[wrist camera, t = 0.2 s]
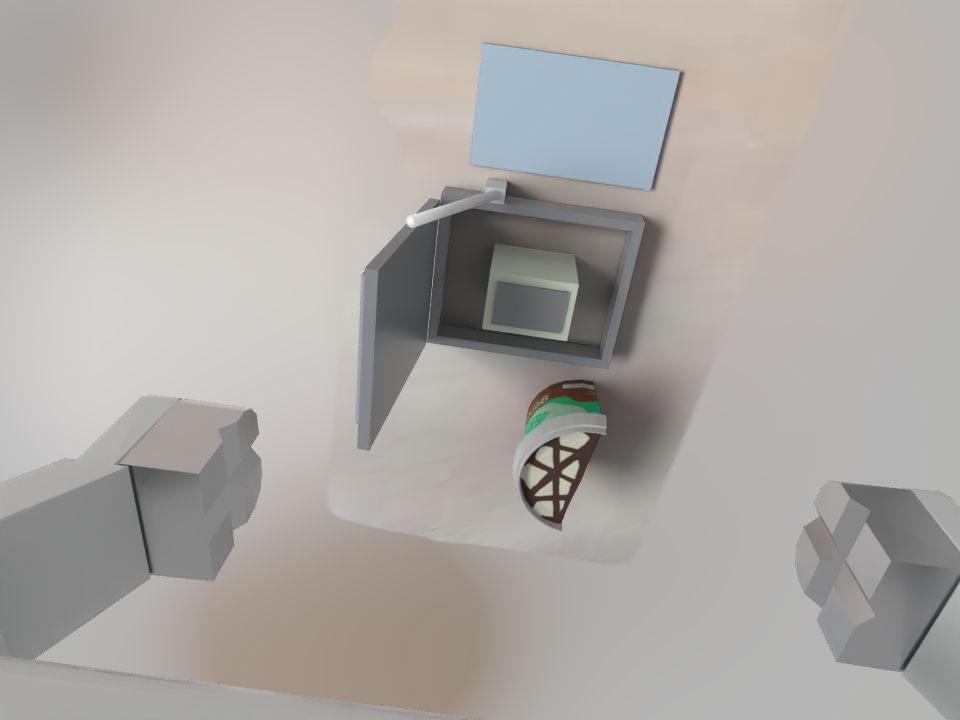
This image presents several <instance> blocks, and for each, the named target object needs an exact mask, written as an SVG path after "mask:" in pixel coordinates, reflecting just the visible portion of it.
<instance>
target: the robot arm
mask: <svg viewBox="0 0 960 720" xmlns="http://www.w3.org/2000/svg"><path fill="white" fill-rule="evenodd" d="M258 435H259V431H258V423H257V415H256V413H255V412H254V411H253V410H252V409H250V408H244V407H237V406H231V405H224V404H217V403H210V402H202V401H195V400H189V399H181V398H175V397H166V396H158V395H147V396H142V397H141V398H140V399H139V400H138V401H137V402H135V403H134V404H133V405H132V406H131V407H130V408H129V409H128V410H127V411H126V412H125V413H124V414H123V415H122V416H121V417H120V418H119V419H118V420H117V421H116V422H115V423H114V424H113V425H112V426H111V427H110V428H109V429H108V430H107V431H106V432H105V433H103V434H102V435H101V436H100V437H99V439H97V440H96V441H95V442H94V443H93V444H92V445H91V446H90V447H89V448H88V449H87V450H86V451H85V452H84V453H83V454H82V455H81V456H80V457H79V458H78V459H77V460H75V459H66V458H65V459H62V460H59V461H57V462H54V463H51V464H49V465H46V466H43V467H41V468H38V469H36V470H33V471H30V472H28V473H25V474H22V475H20V476H17V477H15V478H12V479H9V480H7V481H4V482H1V483H0V720H481V719H474V718H467V717H460V716H452V715H444V714H436V713H429V712H422V711H414V710H407V709H398V708H391V707H384V706H377V705H369V704H362V703H354V702H347V701H346V702H345V701H339V700H331V699H323V698H316V697H308V696H301V695H293V694H286V693H279V692H271V691H264V690H256V689H248V688H241V687H234V686H226V685H219V684H211V683H203V682H195V681H189V680H181V679H173V678H166V677H158V676H151V675H143V674H136V673H128V672H120V671H113V670H106V669H98V668H90V667H83V666H76V665H68V664H60V663H53V662H45V661H38V660H34V659H35V658H37V657H38V656H39V655H41V654H42V653H44V652H45V651H47V650H48V649H49V648H51V647H52V646H54V645H55V644H57V643H58V642H59V641H61V640H62V639H64V638H65V637H67V636H68V635H70V634H71V633H73V632H74V631H75V630H76V629H78V628H80V627H81V626H83V625H84V624H85V623H87V622H88V621H90V620H91V619H93V618H94V617H95V616H97V615H98V614H100V613H101V612H102V611H104V610H105V609H107V608H108V607H110V606H111V605H113V604H114V603H116V602H117V601H119V600H120V599H121V598H123V597H124V596H126V595H127V594H129V593H130V592H131V591H133V590H134V589H136V588H137V587H139V586H140V585H141V584H143V583H144V582H146V581H147V580H149V579H150V575H158V576H167V577H177V578H187V579H197V580H206V581H214V580H215V578H216V576H217V574H218V572H219V571H220V569H221V567H222V566H223V564H224V562H225V560H226V559H227V557H228V555H229V553H230V552H231V550H232V548H233V547H234V538H233V530H235V529H236V528H238V527H240V526H242V525H244V524H245V523H247V522H248V520H249V518H250V516H251V514H252V512H253V510H254V509H255V506H256V502H257V499H258V495H259V492H260V488H261V487H260V486H261V477H262V469H261V459H260V457H259V456H258V455H257V454H256V453H255V451H254V450H253V449H252V448H251V445H252V444H253V442H254V441H255V439H256V437H257V436H258ZM814 504H815V506H816V509H817V511H818V514H819V517H818V518H816V519H815V520H813V521H812V522H810V523H809V524H807V525H806V526H804V527H803V530H802V532H801V535H800V537H799V540H798V542H797V545H796V561H795V565H796V570H797V575H798V579H799V582H800V584H801V586H802V588H803V591H804V593H805V594H806V595H807V596H808V597H810V598H811V599H812V600H813V601H814V602H815V603H817V604H818V605H819V606H820V607H821V608H822V609H821V612H820V614H819V616H818V618H817V621H818V623H819V626H820V628H821V630H822V632H823V634H824V636H825V639H826V641H827V643H828V645H829V647H830V649H831V651H832V653H833V656H834V658H835V660H836V662H840V663H846V664H853V665H859V666H865V667H872V668H878V669H885V670H891V671H897V672H903V674H902V676H903V677H904V678H905V679H906V680H907V681H908V682H909V683H910V684H911V685H912V686H913V687H914V688H915V689H916V690H917V691H918V692H919V693H920V694H921V695H922V696H923V697H924V698H926V700H927V701H928V702H929V703H930V704H931V705H932V706H933V707H934V708H935V709H936V710H937V711H938V712H939V713H941V715H942V716H943V717H945V718H946V719H947V720H960V507H959V506H958V505H957V504H956V503H955V502H954V500H953V499H952V498H951V497H949V496H947V495H945V494H943V493H942V492H939V491H929V490H917V489H907V488H902V489H898V488H889V487H881V486H872V485H863V484H854V483H853V484H852V483H845V482H835V481H828V482H827V483H826V484H825V485H824V486H823V487H822V488H821V489H820V491H819V493H818V495H817V498H816V500H815V502H814Z"/></svg>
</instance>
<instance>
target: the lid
mask: <svg viewBox="0 0 960 720" xmlns="http://www.w3.org/2000/svg"><path fill="white" fill-rule="evenodd" d="M439 205H440V200H437V199H431V198H430V199H429V200H428V201H427V202H426V203H425V204H424V206H423V207H422V208H421V209H420V210H419V211H418V212H417V213H420V212H424V211H427V210H430V209H433V208H437V207H439ZM417 213H416V214H417ZM437 226H438V220H435V221H432V222H429V223H426V224H423V225H420V226H417V227H414V228H410V227H409V226H408V225H407V224H406V225H405V226H404V227H403V228H402V229H401V230H400V231H399V232H398V233H397V234H396V235H395V237H394V238H393V239H392V240H391V241H390V242H389V243H388V244H387V245H386V246H385V247H384V248H383V249H382V250H381V252H380V253H379V254H378V255H377V256H376V257H375V258H374V259H373V260H372V261H371V262H370V263H369V264H368V265H367V266H366V268H365V271H364V273H363V274H362V275H361V300H360V326H359V351H358V377H357V403H356V424H358V447H357V448H358V449H363V450H368V451H369V450H370V448H371V446H372V444H373V442H374V440H375V438H376V436H377V435H378V433H379V431H380V429H381V427H382V425H383V423H384V421H385V420H386V418H387V416H388V414H389V412H390V410H391V408H392V406H393V405H394V403H395V401H396V399H397V397H398V395H399V393H400V391H401V390H402V388H403V386H404V384H405V382H406V380H407V378H408V376H409V375H410V373H411V371H412V369H413V367H414V365H415V363H416V361H417V360H418V358H419V356H420V354H421V352H422V350H423V348H424V347H425V345H426V341H427V331H428V320H429V310H430V299H431V289H432V278H433V268H434V257H435V247H436V236H437Z"/></svg>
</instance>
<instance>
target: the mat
mask: <svg viewBox="0 0 960 720" xmlns="http://www.w3.org/2000/svg"><path fill="white" fill-rule="evenodd" d="M679 74H680V71H677V70H670V69H663V68H656V67H649V66H642V65H635V64H628V63H621V62H614V61H607V60H600V59H593V58H586V57H579V56H572V55H565V54H558V53H551V52H544V51H537V50H530V49H523V48H516V47H509V46H501V45H494V44H487V43H483V45H482V54H481V63H480V72H479V81H478V89H477V98H476V107H475V116H474V125H473V133H472V142H471V151H470V160H469V164H472V165H479V166H486V167H492V168H499V169H506V170H513V171H520V172H527V173H534V174H541V175H548V176H555V177H562V178H569V179H576V180H583V181H590V182H597V183H604V184H611V185H618V186H625V187H631V188H638V189H645V190H651V186H652V182H653V178H654V174H655V170H656V166H657V162H658V158H659V154H660V150H661V146H662V142H663V138H664V134H665V130H666V126H667V122H668V118H669V114H670V110H671V106H672V102H673V98H674V94H675V90H676V86H677V82H678V78H679Z"/></svg>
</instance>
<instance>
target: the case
mask: <svg viewBox="0 0 960 720" xmlns="http://www.w3.org/2000/svg"><path fill="white" fill-rule="evenodd" d="M506 187H507V181H504V180H497V179H490V178H488V181H487V184H486V189H485V192H480V191H473V190H466V189H459V188H452V187H445V188H444V190H443V192H442V194H441V204H440V207H437V208H433V209H430V210H427V211H424V212H420V213H417V214H414V215H411V216H408V217H407V219H406V223H407V225H408V226H409V227H410V228H414V227H417V226H420V225H423V224H426V223H429V222H432V221H435V220H438V219H439V225H438V235H437V246H436V256H435V266H434V277H433V287H432V298H431V308H430V319H429V329H428V339H427V343H434V344H441V345H448V346H455V347H462V348H468V349H475V350H482V351H489V352H496V353H503V354H510V355H516V356H523V357H530V358H537V359H544V360H551V361H558V362H564V363H571V364H578V365H585V366H592V367H599V368H605V369H609V365H610V361H611V357H612V353H613V349H614V345H615V341H616V337H617V333H618V329H619V325H620V321H621V317H622V314H623V310H624V306H625V302H626V298H627V294H628V290H629V286H630V282H631V278H632V274H633V270H634V266H635V262H636V258H637V254H638V250H639V246H640V242H641V238H642V234H643V230H644V226H645V222H644V220H643V218H642V216H641V215H639V214H632V213H625V212H618V211H611V210H604V209H597V208H591V207H584V206H577V205H570V204H563V203H556V202H549V201H542V200H535V199H528V198H521V197H514V196H507V195H505V194H506ZM471 208H473V209H480V210H487V211H494V212H501V213H508V214H515V215H522V216H529V217H536V218H542V219H549V220H556V221H563V222H570V223H577V224H584V225H591V226H598V227H605V228H612V229H619V230H626V231H627V234H626V238H625V242H624V247H623V251H622V255H621V259H620V263H619V267H618V271H617V276H616V280H615V284H614V288H613V292H612V296H611V301H610V305H609V309H608V313H607V317H606V321H605V326H604V330H603V334H602V338H601V342H600V346H599V347H594V346H587V345H580V344H573V343H566V342H560V341H553V340H546V339H539V338H532V337H525V336H518V335H512V334H505V333H498V332H491V331H484V330H477V329H470V328H463V327H457V326H450V325H443V324H440V322H441V313H442V303H443V294H444V284H445V275H446V265H447V256H448V246H449V237H450V227H451V218H452V215H453V214H456V213H459V212H462V211H465V210H468V209H471Z"/></svg>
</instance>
